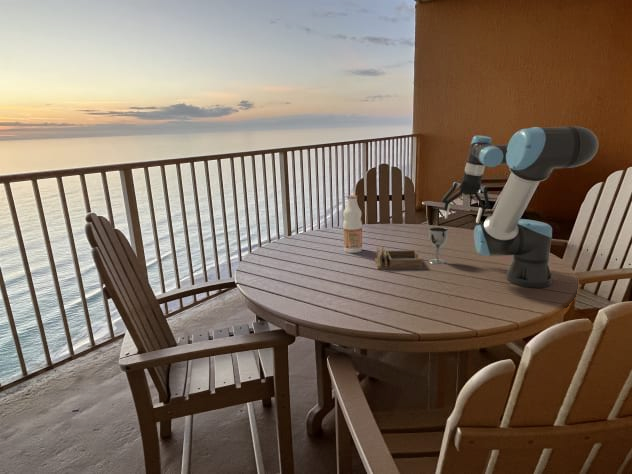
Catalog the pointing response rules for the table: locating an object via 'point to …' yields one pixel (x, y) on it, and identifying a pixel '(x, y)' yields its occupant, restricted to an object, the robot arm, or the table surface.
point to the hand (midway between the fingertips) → (461, 220)
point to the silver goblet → (438, 241)
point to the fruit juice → (352, 226)
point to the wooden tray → (398, 259)
